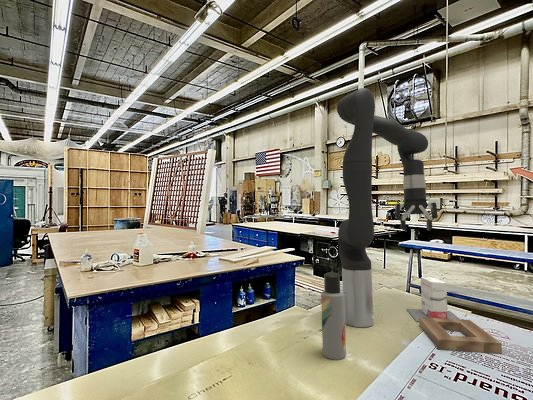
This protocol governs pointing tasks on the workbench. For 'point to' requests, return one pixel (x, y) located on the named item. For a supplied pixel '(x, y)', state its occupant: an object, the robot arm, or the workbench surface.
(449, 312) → the grey mat
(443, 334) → the wooden square frame
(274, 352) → the workbench surface
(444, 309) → the ink box
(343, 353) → the lotion bottle
